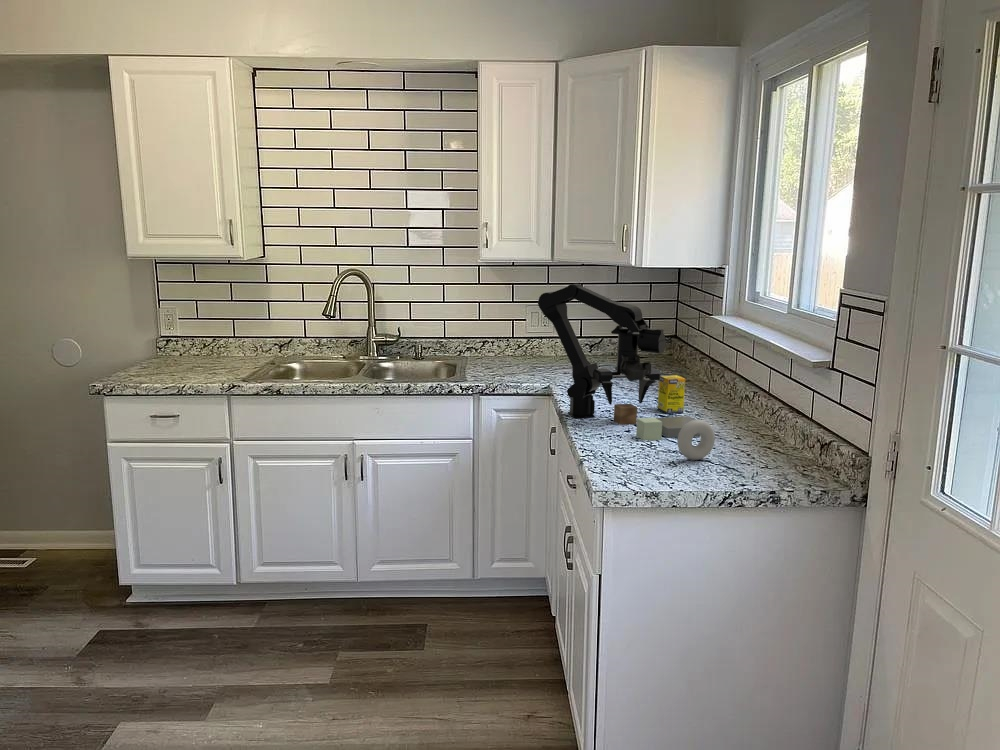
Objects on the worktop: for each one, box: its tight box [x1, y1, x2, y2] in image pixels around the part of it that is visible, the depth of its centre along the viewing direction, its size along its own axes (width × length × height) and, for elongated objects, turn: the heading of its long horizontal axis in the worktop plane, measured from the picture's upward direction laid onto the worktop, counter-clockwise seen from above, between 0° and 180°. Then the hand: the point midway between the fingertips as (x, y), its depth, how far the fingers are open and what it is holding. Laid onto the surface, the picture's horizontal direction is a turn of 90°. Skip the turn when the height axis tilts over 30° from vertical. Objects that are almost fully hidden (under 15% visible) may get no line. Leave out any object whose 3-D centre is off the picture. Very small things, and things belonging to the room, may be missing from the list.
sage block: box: [635, 417, 662, 442], centre depth 204 cm, size 5×5×5 cm
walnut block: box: [613, 403, 638, 426], centre depth 221 cm, size 5×5×5 cm
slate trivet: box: [655, 415, 701, 439], centre depth 212 cm, size 12×12×2 cm
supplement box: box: [657, 374, 686, 415], centre depth 234 cm, size 6×6×11 cm
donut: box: [677, 419, 716, 461], centre depth 184 cm, size 10×3×10 cm, turn 110°
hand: (625, 403), depth 220 cm, fingers open, 9 cm apart
